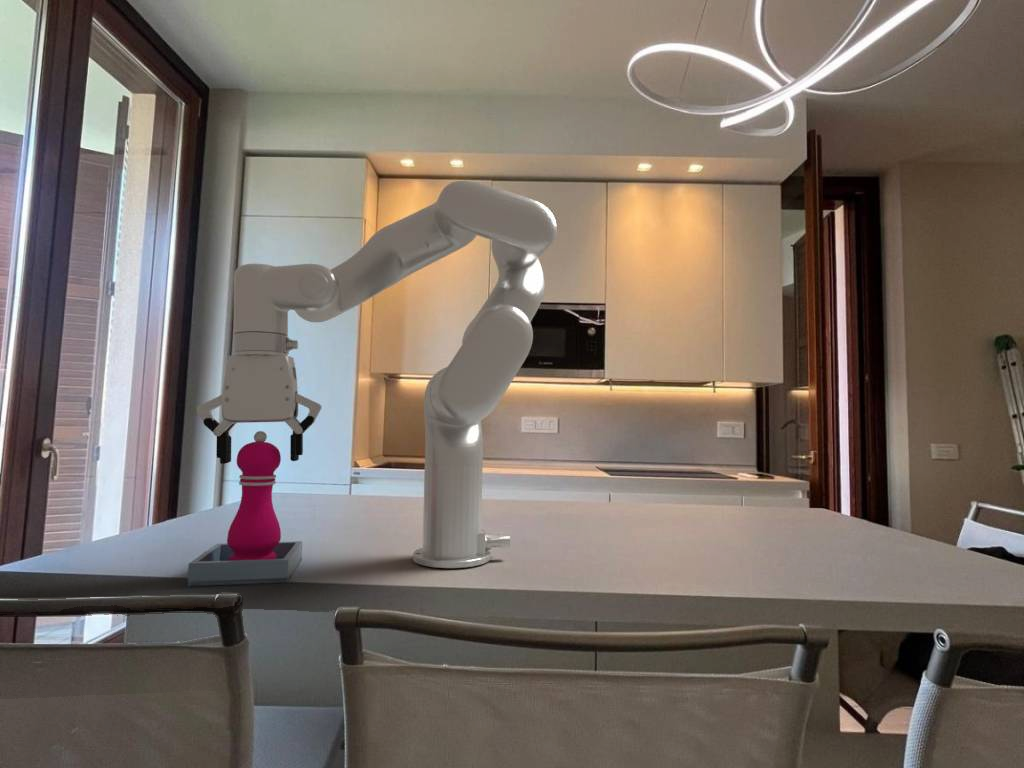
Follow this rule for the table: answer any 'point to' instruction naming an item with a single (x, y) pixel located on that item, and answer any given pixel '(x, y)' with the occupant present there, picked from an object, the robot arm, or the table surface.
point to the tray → (244, 566)
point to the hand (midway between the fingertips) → (260, 461)
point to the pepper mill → (256, 503)
